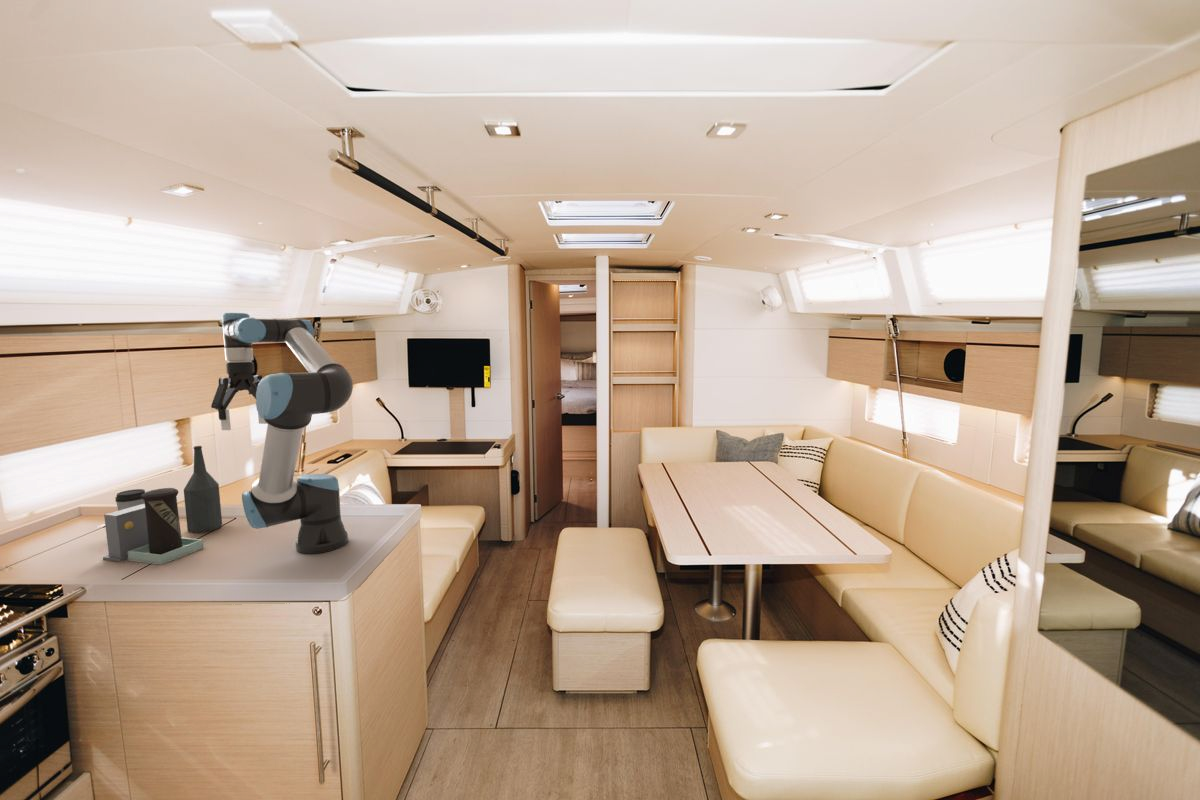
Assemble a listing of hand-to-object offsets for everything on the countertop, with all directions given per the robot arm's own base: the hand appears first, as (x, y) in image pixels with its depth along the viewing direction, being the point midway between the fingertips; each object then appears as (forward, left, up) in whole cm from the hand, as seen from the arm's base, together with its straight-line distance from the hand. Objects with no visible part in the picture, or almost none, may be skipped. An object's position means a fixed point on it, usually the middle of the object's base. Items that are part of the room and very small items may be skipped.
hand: (245, 426), depth 175 cm
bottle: (+28, -5, -39) cm, 48 cm away
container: (+17, +16, -38) cm, 45 cm away
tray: (+17, +16, -39) cm, 45 cm away
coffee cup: (+47, +5, -39) cm, 61 cm away
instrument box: (+29, +17, -39) cm, 51 cm away
